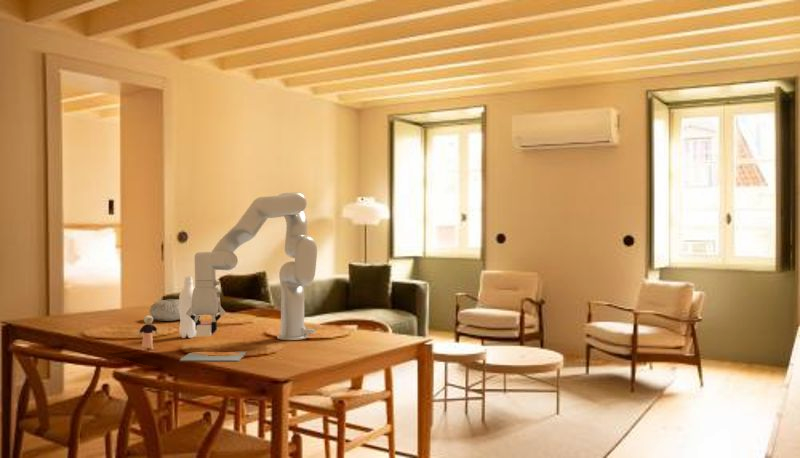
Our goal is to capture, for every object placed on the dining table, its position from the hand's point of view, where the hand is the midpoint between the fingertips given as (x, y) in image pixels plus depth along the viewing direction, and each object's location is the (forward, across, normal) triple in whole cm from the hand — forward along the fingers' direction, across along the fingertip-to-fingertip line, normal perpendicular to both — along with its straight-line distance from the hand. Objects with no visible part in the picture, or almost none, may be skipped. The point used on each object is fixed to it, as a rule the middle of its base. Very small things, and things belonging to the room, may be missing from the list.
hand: (206, 331), depth 244 cm
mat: (+6, -7, +16) cm, 19 cm away
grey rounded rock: (+7, +37, -66) cm, 76 cm away
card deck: (+1, 0, 0) cm, 1 cm away
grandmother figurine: (+6, +21, +3) cm, 22 cm away
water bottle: (+6, +14, -22) cm, 26 cm away
